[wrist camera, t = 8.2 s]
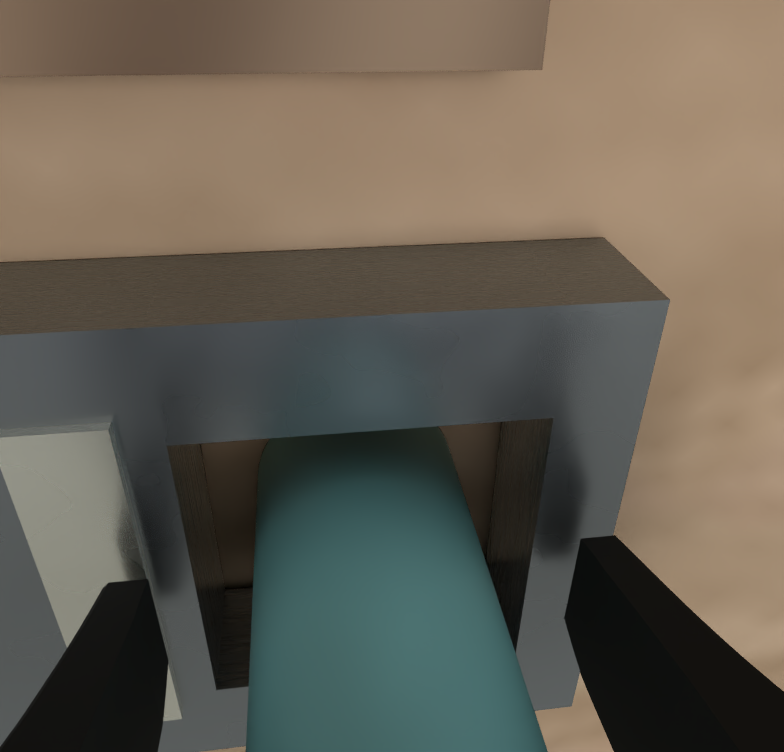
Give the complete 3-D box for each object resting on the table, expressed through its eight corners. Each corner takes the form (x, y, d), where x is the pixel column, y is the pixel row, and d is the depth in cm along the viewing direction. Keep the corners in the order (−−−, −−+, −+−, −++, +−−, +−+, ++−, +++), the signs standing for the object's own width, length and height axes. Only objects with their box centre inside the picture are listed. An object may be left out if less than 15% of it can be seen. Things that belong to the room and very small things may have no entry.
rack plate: (-197, 692, 16) (-276, 819, 13) (-490, 283, 10) (-704, 380, 8) (537, 614, 18) (574, 714, 15) (604, 237, 12) (675, 306, 10)
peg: (266, 553, 15) (256, 1030, 9) (247, 401, 13) (214, 880, 7) (446, 535, 16) (566, 977, 9) (455, 387, 14) (623, 821, 7)
